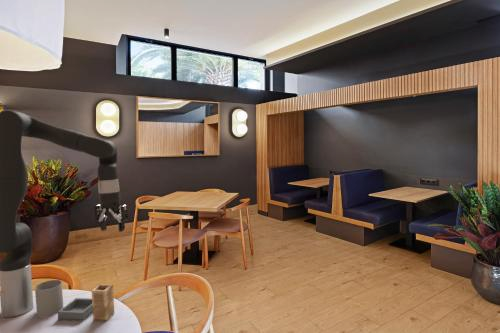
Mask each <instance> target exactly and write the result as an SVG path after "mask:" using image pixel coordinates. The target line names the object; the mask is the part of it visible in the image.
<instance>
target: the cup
mask: <svg viewBox="0 0 500 333" xmlns="http://www.w3.org/2000/svg"><path fill="white" fill-rule="evenodd" d="M34 289H35V290H34V292H35V305H36V316H38V317H40V318H41V317H42V318H43V317H49V316H53V315H55V314H58V311H60V310H61V309H62V308H63V307H64V297H63V296H64V294H63V282H62V280H60V279H52V280H45V281H43V282H41V283H39V284H37V285H36V286H35V287H34Z"/></svg>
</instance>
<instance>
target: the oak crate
mask: <svg viewBox="0 0 500 333" xmlns="http://www.w3.org/2000/svg"><path fill="white" fill-rule="evenodd" d="M91 299H92V306H93V313H92V321H93V322H108V320H110V319H111V317H113V315H115V300H114V299H115V298H114V284H108V283H101V284H98V285H97V286H96V287H95V288H93V289H92V290H91Z"/></svg>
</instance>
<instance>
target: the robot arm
mask: <svg viewBox="0 0 500 333" xmlns="http://www.w3.org/2000/svg"><path fill="white" fill-rule="evenodd" d="M22 137H27V138H34V139H40V140H43V141H47V142H50V143H52V144H54V145H57V146H59V147H61V148H65V149H69V150H73V151H76V152H80V153H85V154H87V155H90V156H92V157H95V158H98V164H99V165H98V167H97V178H98V183H97V184H98V185H97V187H98V198H99V204H96V205H94V220H96V221H98V222H99V228H100V230H101V232H102V231H103V232H104V231H107V229H108V228H107V218H108V217H114V219H115V220H117V222H118V223H117V224H118V225H117V226H118V232H120V233H121V232H124V231H125V229H126V228H125V227H126V226H125V221H128V220H129V218H130V217H129V211H128V205H127V204H123V205H121V204H120V202H121V190H120V182H119V175H118V166H117V164H118V148H117V146H116V144H115V143H114V142H113V141H110V140H106V139H100V138H96V137H92V136H90V135H88V134H85V133H83V132H78V131H75V130H71V129H69V128H64V127H60V126H59V127H58V126H56V125H52V124H48V123H46V122H43V121H41V120H39V119H37V118H35V117H32V116H30V115H28V114H26V113H24V112H22V111H16V110H9V109H5V110H2V111H0V254H5V255H4V257H3V258H2V259H1V260H0V312H1V318H2V319H3V318H13V317H14V318H15V317H17V316H20V315H21V316H22V315H24V314H26V313H28V312H30V311H31V310H32V309H33V308H34V296H33V281H32V269H31V258H32V256H33V235H32V234H33V233H32V231H31V228H30V227H29V225H27V224H26V223H25V222H17V214H18V211H19V209H20V207H21V205H22V202H23V201H24V199H25V197H26V195H27V191H28V185H29V184H28V183H29V174H28V168H27V166H26V163H25V160H24V157H23V154H22Z"/></svg>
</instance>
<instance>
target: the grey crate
mask: <svg viewBox="0 0 500 333" xmlns="http://www.w3.org/2000/svg"><path fill="white" fill-rule="evenodd" d="M91 315H93V306H92V298H85V297H83V298H81V297H75V298H74V299H73V300H72V301H69V303H68V304H66V305H65V306H63V308H62V309H61V310H60V311H58V313H57V320H58V321H76V322H77V321H79V322H80V321H81V322H84V321H85V320H86V319H87V318H88V317H89V316H91Z"/></svg>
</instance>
